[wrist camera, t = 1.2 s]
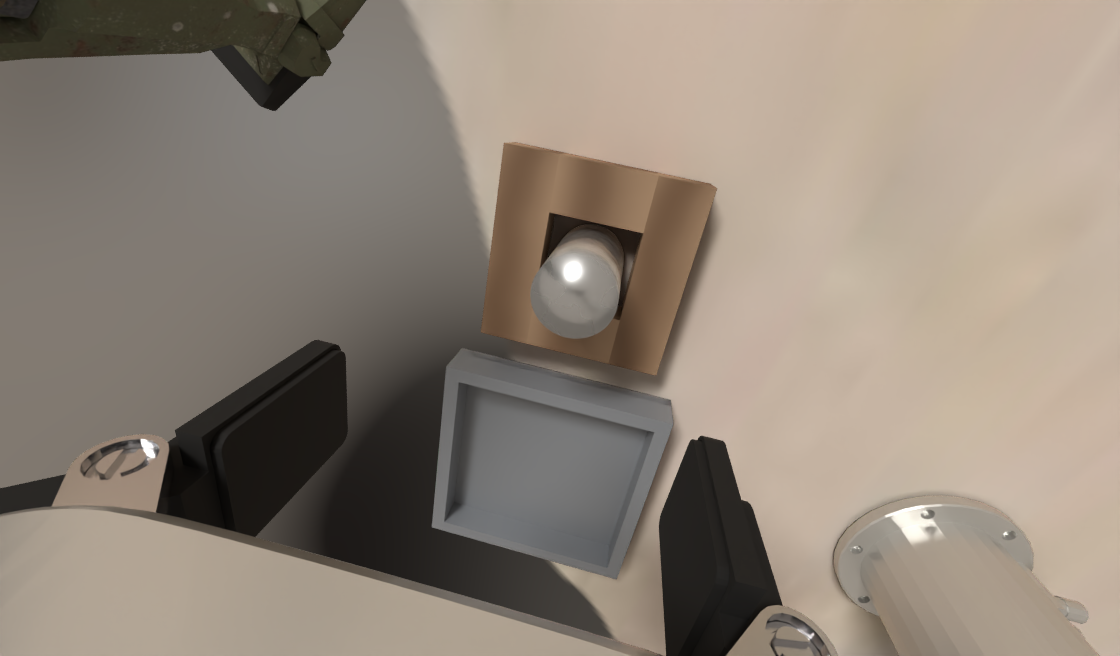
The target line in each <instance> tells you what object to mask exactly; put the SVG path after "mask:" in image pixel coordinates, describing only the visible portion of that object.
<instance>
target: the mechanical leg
mask: <svg viewBox="0 0 1120 656" xmlns="http://www.w3.org/2000/svg"><path fill="white" fill-rule="evenodd" d="M365 1H366V0H0V61H9V60H20V59H31V58H62V57H91V56H92V57H93V56H117V55H118V56H119V55H145V54H183V53H202V52H205V51H209V50H211V51H212V52H213V53H214V54H215V55H216V57H218V59H219V60H220V61H221V62H222V63H223V65H224V66H225V67H226V68H227V69H228V70H229V71H230V72H231V74H232V75H233V76H234V77H235V78H236V79H237V81H238V82H239V83H240V84H241V85H242V86H243V87H244V89H245V90H246V91H247V92H248V93H249V94H250V95H251V97H252V98H253V99H254V100H255V101H256V102H257V103H258V104H259V105H260V106H261V107H264V108H267V109H269V110H272V111H276V110H277V109H278V108H279V107H280V106H281V105H282V104H283V103H284V102H285V101H286V100H287V99H288V98H289V97H290V96H291V95H292V94H293V93H294V92H296V91H297V90H298V89H299V88H300V87H301V86H302V85H303V84H304V83H305V82H306V81H307V80H308V79H309V78H310V77H311V76H323V74H324V73H325V72H326V70H327V69H328V67H329V66H330V64H331V61H330V59H329V56H328V54H327V52H326V50H327V51H328V50H331V49H332V48H334V47H335V46H336V45H337V44H338V43H339V41H340V40H341V39H342V38H343V37H344V34H343V30H344V29H345V28H346V26H347V25H348V24H349V22H350V21H351V20H352V18H353V17H354V16H355V14H356V13H357V12H358V10H359V9H360V8H361V6H362V5H363V4H364V3H365Z"/></svg>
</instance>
